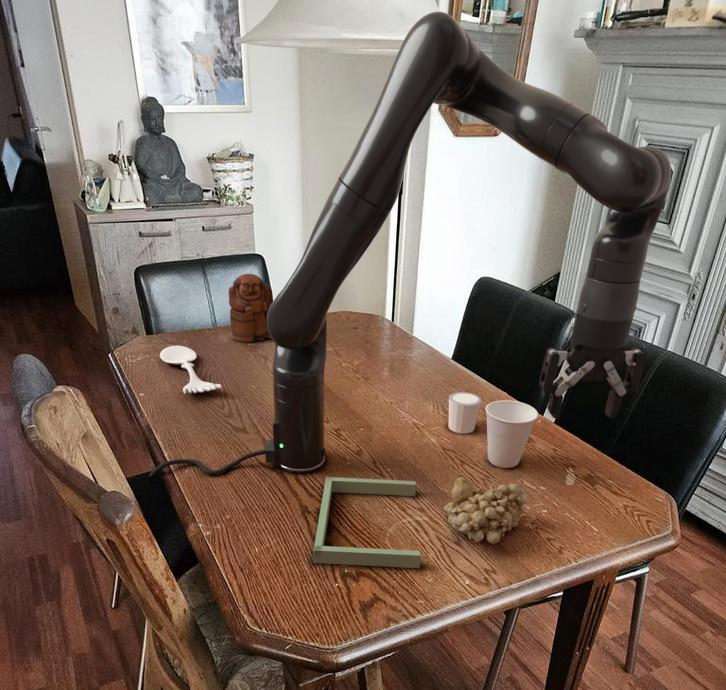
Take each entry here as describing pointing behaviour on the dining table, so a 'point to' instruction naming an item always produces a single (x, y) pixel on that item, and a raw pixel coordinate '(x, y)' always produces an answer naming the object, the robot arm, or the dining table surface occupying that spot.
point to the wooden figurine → (249, 308)
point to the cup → (508, 431)
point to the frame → (362, 554)
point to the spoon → (184, 357)
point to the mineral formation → (485, 510)
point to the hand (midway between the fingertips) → (581, 416)
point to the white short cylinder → (463, 412)
